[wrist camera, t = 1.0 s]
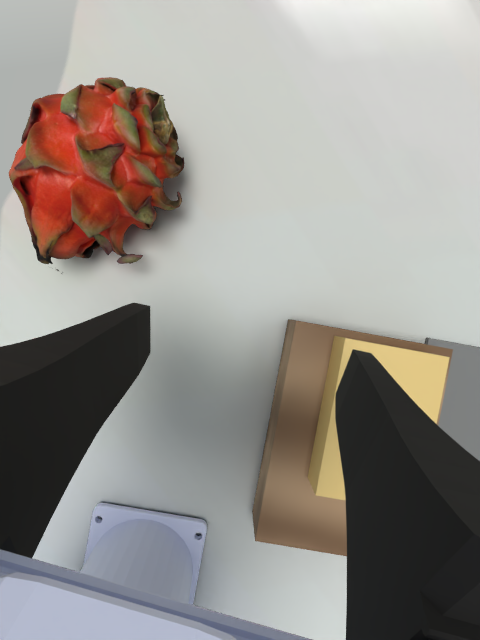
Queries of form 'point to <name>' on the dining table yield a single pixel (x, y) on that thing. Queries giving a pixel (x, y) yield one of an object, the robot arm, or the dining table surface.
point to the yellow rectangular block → (406, 369)
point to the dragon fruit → (94, 168)
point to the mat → (462, 396)
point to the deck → (305, 443)
